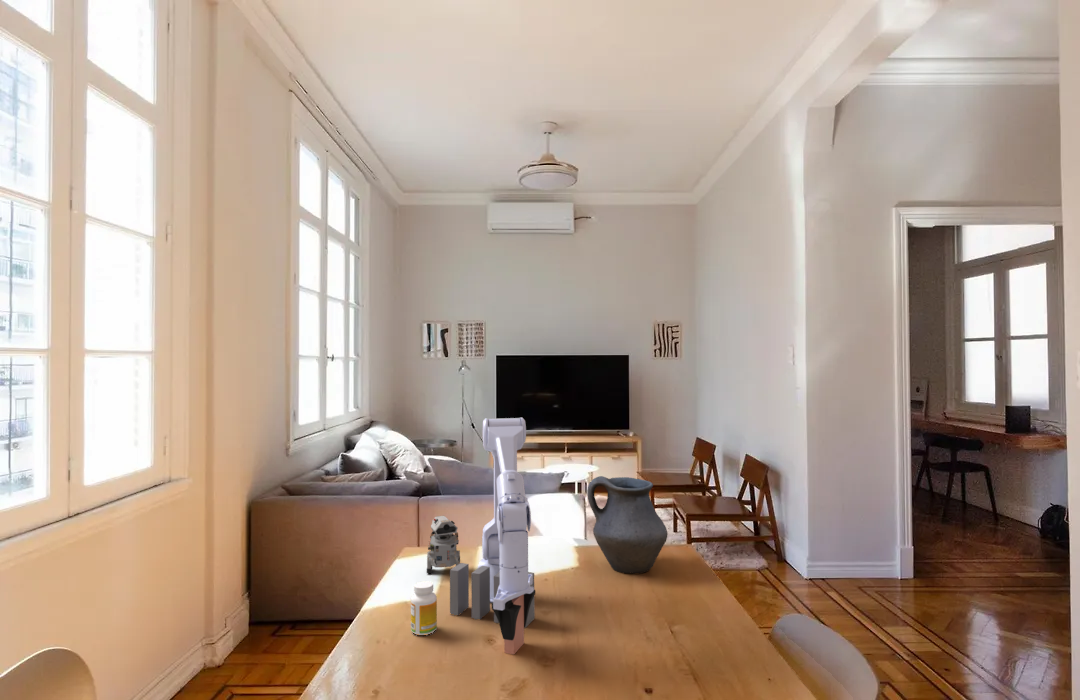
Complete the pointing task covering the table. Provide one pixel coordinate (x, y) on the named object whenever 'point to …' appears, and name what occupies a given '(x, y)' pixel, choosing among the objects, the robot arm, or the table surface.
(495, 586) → the domino
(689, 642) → the table surface
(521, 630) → the red domino
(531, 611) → the domino
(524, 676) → the table surface
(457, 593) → the domino
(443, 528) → the figurine
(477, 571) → the domino
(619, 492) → the pitcher
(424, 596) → the supplement bottle
